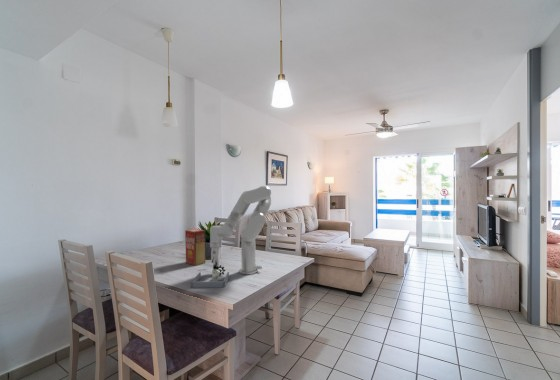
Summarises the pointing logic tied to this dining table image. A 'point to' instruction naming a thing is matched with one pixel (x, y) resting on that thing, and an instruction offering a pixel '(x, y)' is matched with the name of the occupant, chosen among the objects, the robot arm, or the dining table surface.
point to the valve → (217, 273)
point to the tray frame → (208, 282)
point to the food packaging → (195, 246)
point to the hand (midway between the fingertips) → (215, 272)
